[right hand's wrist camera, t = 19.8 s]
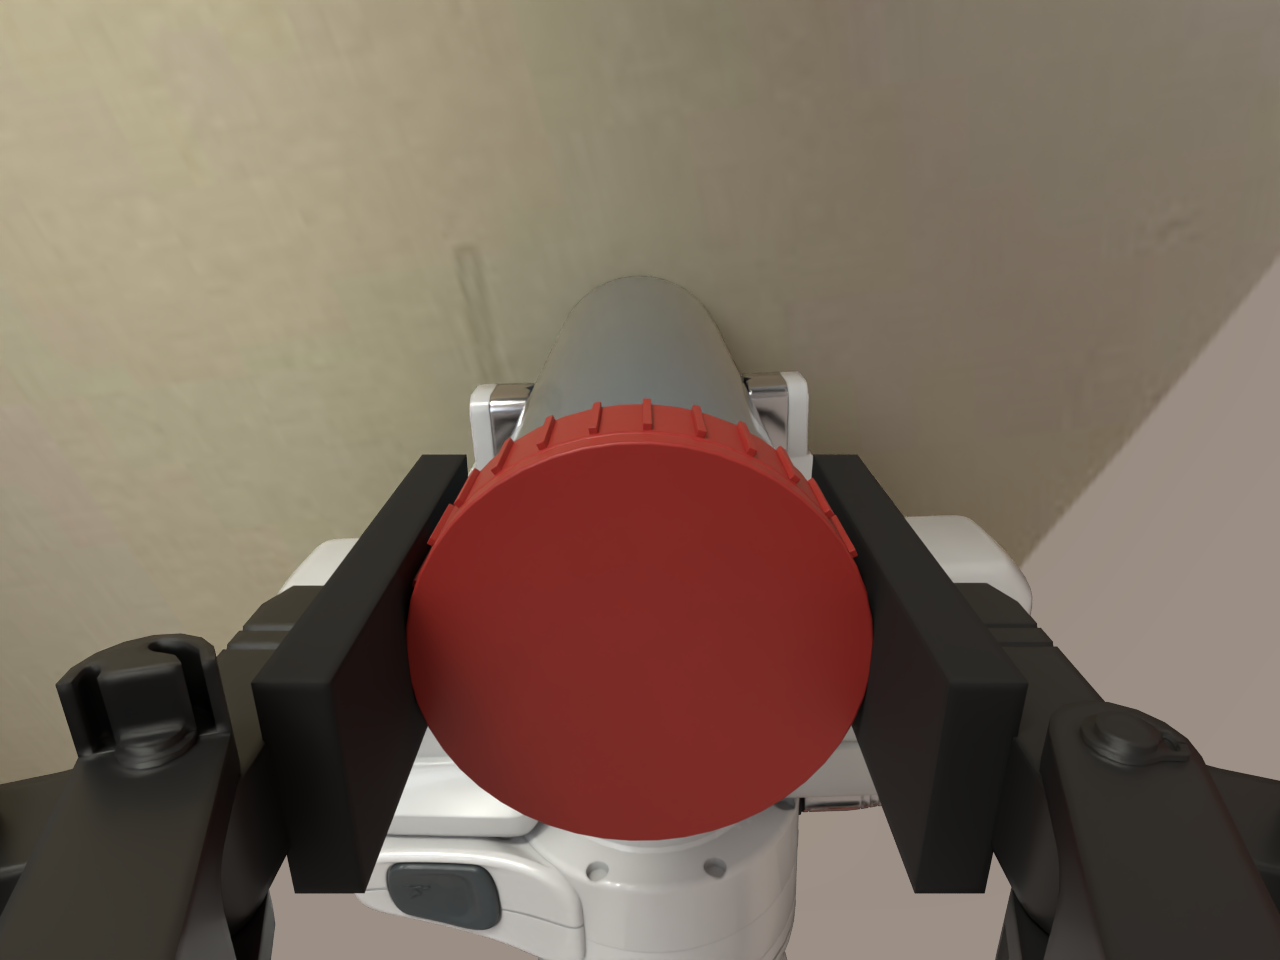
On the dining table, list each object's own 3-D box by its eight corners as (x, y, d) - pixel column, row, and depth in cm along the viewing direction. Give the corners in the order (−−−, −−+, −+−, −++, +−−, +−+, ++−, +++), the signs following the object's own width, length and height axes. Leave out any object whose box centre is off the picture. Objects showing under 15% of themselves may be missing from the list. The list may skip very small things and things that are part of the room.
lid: (528, 808, 13) (513, 891, 12) (355, 482, 11) (310, 532, 10) (891, 703, 12) (927, 777, 11) (781, 331, 10) (806, 360, 9)
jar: (737, 289, 25) (884, 475, 10) (707, 450, 27) (792, 808, 12) (566, 263, 25) (452, 414, 10) (547, 428, 27) (429, 766, 12)
